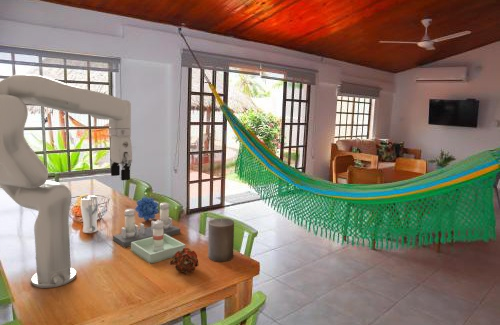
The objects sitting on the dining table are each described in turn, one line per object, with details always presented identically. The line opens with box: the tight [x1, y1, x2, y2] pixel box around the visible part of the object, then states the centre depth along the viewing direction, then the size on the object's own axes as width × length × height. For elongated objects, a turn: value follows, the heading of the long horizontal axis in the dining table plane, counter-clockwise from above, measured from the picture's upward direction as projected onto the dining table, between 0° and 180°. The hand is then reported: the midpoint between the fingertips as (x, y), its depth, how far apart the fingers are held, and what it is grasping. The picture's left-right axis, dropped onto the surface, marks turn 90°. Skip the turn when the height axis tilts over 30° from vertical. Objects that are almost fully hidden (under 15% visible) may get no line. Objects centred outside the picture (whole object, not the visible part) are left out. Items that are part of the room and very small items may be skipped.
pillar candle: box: [207, 217, 235, 263], centre depth 137 cm, size 10×10×15 cm
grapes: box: [135, 196, 160, 221], centre depth 174 cm, size 12×7×12 cm, turn 130°
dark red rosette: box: [169, 247, 199, 274], centre depth 125 cm, size 8×8×12 cm
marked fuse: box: [153, 220, 164, 252], centre depth 139 cm, size 4×4×11 cm
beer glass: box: [80, 195, 99, 234], centre depth 157 cm, size 7×7×15 cm
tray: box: [130, 234, 186, 265], centre depth 139 cm, size 15×15×4 cm
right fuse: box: [159, 202, 170, 230], centre depth 159 cm, size 4×4×11 cm
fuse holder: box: [112, 216, 181, 248], centre depth 155 cm, size 10×26×6 cm, turn 134°
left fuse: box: [124, 208, 136, 238], centre depth 148 cm, size 4×4×11 cm
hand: (120, 177), depth 139 cm, fingers open, 9 cm apart
